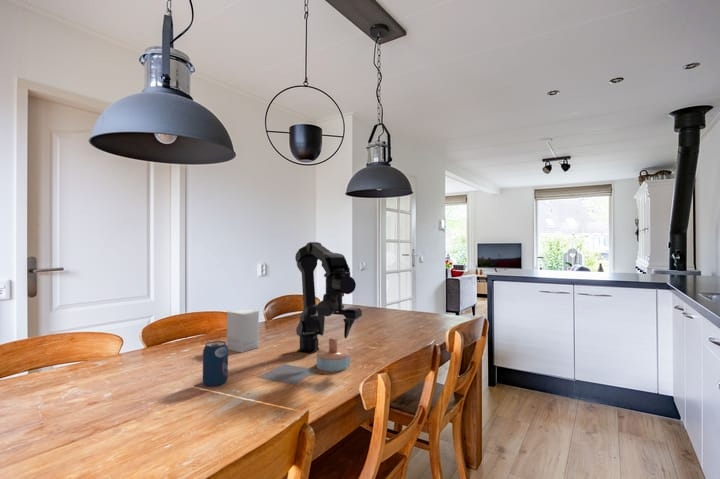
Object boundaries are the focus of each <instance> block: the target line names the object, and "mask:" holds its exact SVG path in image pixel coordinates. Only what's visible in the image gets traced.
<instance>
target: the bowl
mask: <svg viewBox="0 0 720 479" xmlns="http://www.w3.org/2000/svg"><path fill="white" fill-rule="evenodd" d="M350 359H351V356H350V354H349V356H348V357H347V358H344V359H339V360H326V359H321V358H319V357H317V356H316V368H317V369H318V370H321V371H325V372H339V371H345V370H347V369H348V368H350V362H351V361H350Z"/></svg>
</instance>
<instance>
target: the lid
mask: <svg viewBox="0 0 720 479" xmlns="http://www.w3.org/2000/svg"><path fill="white" fill-rule="evenodd" d="M349 355H350V350H348V349H346V348H344V347H338V338H337V337H329V339H328V347H325V348H321V349H320V348H319V350H317V351H316V358H317V357H319V358H321V359H326V360H339V359H344V358H347V357H348V356H349Z"/></svg>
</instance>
